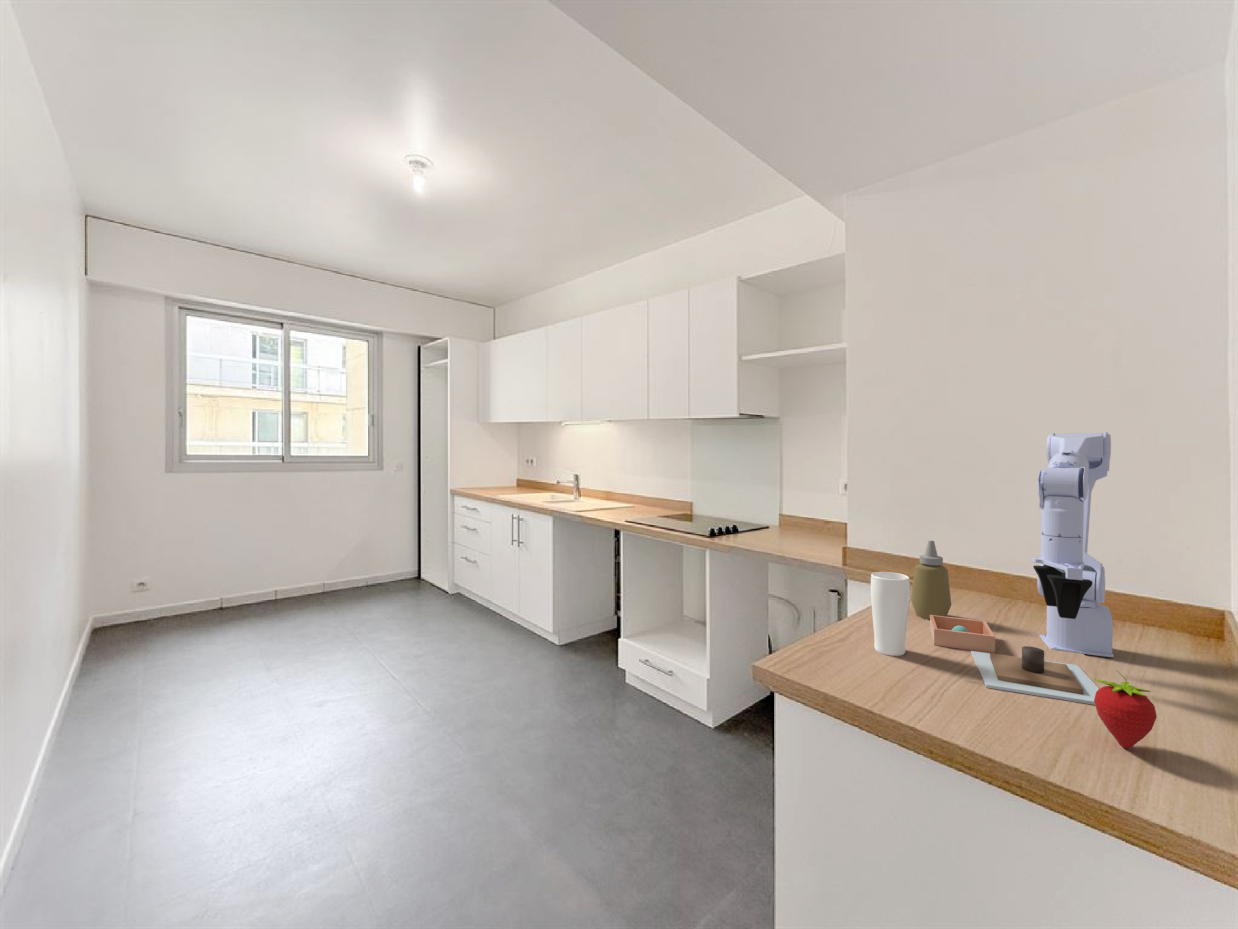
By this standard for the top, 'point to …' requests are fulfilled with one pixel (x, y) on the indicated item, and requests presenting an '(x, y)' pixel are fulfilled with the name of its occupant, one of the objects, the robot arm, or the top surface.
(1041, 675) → the lid
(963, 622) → the shallow cardboard tray
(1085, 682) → the mat
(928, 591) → the squeeze bottle
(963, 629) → the ball
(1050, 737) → the top surface
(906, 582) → the white cup
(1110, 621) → the robot arm
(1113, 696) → the strawberry
